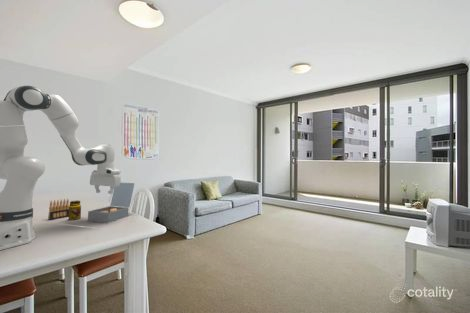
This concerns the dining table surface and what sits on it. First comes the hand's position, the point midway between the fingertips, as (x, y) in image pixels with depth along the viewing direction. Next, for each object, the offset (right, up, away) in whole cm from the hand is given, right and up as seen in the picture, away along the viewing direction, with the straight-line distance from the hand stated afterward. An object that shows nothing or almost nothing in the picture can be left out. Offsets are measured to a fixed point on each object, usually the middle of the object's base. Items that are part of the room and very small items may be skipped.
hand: (104, 193), depth 132 cm
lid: (+4, -3, +14) cm, 15 cm away
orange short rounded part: (+2, -17, +7) cm, 18 cm away
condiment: (-20, -17, +1) cm, 26 cm away
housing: (+1, -17, +3) cm, 18 cm away
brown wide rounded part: (0, -16, 0) cm, 16 cm away
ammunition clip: (-32, -17, +5) cm, 36 cm away
